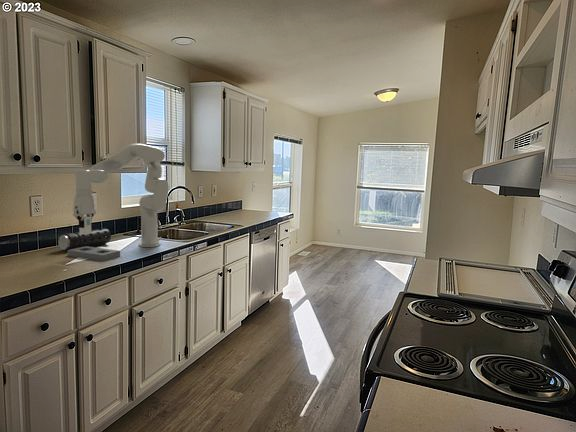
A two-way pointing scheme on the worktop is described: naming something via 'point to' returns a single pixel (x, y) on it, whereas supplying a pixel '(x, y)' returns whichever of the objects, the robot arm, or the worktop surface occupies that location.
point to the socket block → (93, 253)
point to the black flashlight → (84, 239)
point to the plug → (86, 226)
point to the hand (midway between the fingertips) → (85, 226)
